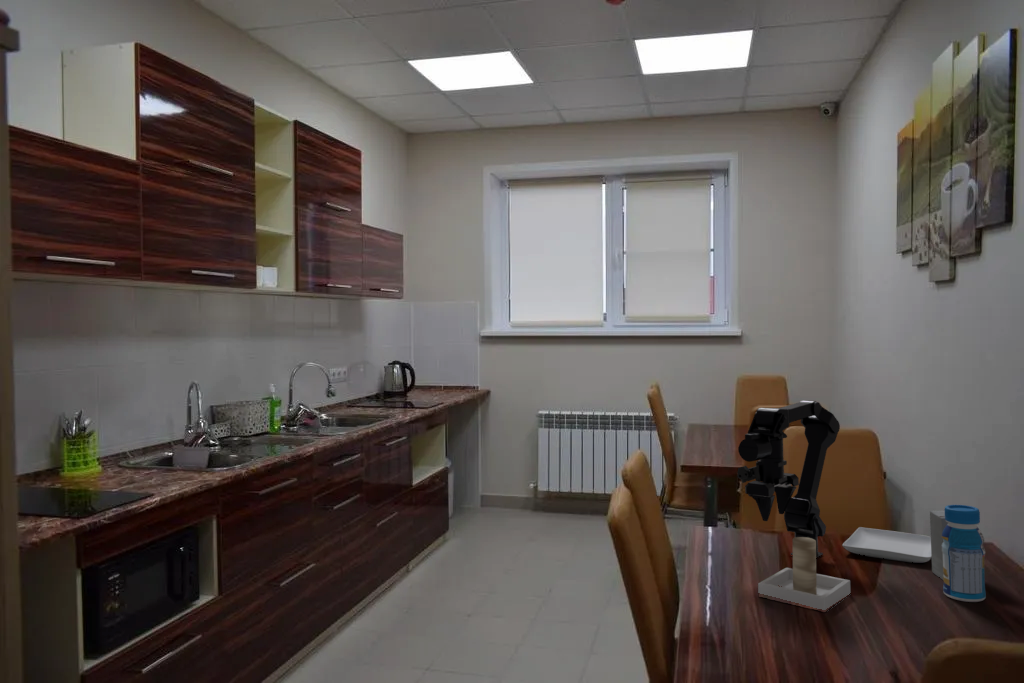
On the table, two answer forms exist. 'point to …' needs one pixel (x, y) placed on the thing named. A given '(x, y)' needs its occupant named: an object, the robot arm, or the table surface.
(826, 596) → the grey bin
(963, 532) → the beverage bottle
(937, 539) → the skincare box
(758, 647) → the table surface
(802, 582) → the birch peg
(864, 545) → the salad plate
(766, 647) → the table surface
